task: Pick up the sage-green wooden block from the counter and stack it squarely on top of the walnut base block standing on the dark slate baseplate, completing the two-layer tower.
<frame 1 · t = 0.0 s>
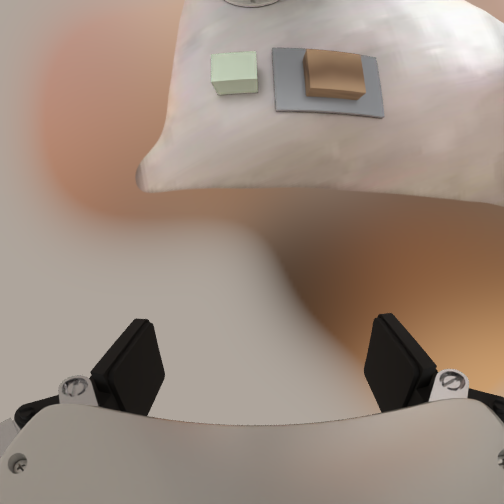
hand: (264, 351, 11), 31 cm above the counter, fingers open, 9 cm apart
walnut base block: (333, 74, 31), on the slate baseplate, point 3 cm above the counter
slate baseplate: (328, 81, 34), on the counter
sage block: (237, 80, 35), on the counter
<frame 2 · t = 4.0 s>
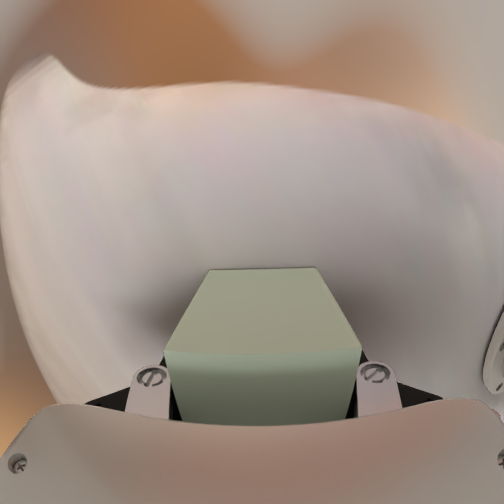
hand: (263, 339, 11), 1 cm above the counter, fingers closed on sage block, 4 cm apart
sage block: (264, 331, 12), on the counter, touching gripper
when the fingers open (7 cm above the counter, at t = 9.0 s): sage block drops 1 cm, resting on walnut base block.
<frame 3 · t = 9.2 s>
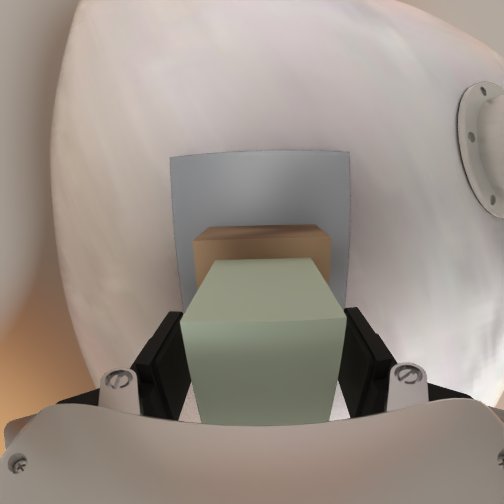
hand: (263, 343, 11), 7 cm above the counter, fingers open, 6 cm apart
walnut base block: (263, 300, 15), on the slate baseplate, point 3 cm above the counter
slate baseplate: (263, 282, 18), on the counter
sage block: (264, 316, 13), point 5 cm above the counter, touching walnut base block
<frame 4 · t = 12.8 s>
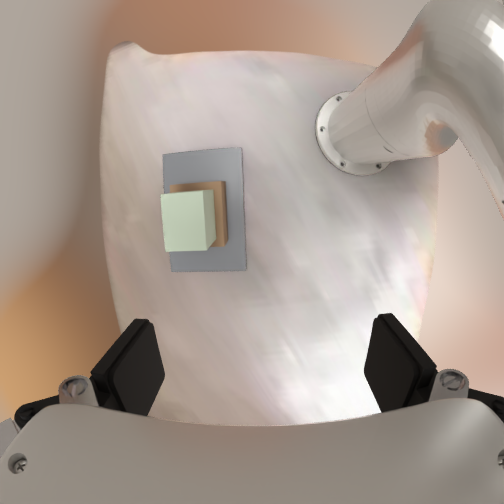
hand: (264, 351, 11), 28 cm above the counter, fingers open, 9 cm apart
walnut base block: (200, 213, 35), on the slate baseplate, point 3 cm above the counter
slate baseplate: (204, 211, 38), on the counter
sage block: (196, 215, 33), point 5 cm above the counter, touching walnut base block
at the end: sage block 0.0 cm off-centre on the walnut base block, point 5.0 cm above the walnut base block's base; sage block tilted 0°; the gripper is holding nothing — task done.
